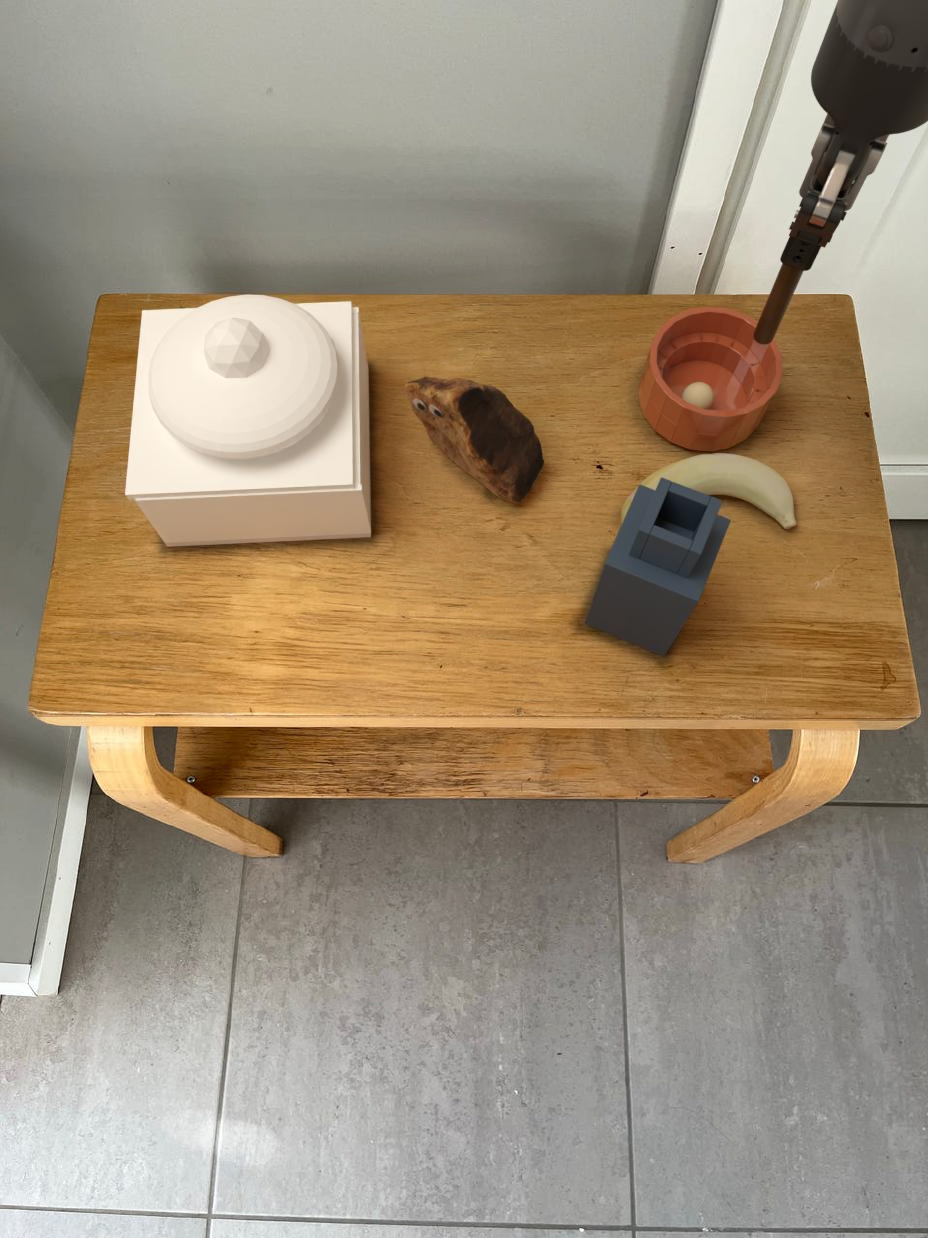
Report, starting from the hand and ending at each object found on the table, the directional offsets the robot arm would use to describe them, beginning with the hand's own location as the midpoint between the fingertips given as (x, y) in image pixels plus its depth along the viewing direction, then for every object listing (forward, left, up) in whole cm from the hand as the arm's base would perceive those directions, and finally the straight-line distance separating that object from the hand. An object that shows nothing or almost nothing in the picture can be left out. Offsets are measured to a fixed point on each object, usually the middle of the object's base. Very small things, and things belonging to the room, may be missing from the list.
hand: (799, 251), depth 64 cm
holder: (+1, +21, -20) cm, 29 cm away
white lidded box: (+36, +21, -20) cm, 46 cm away
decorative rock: (+19, +14, -20) cm, 31 cm away
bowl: (+3, 0, -20) cm, 20 cm away
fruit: (-1, +11, -20) cm, 23 cm away
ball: (+3, +1, -18) cm, 18 cm away
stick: (0, 0, -9) cm, 9 cm away
